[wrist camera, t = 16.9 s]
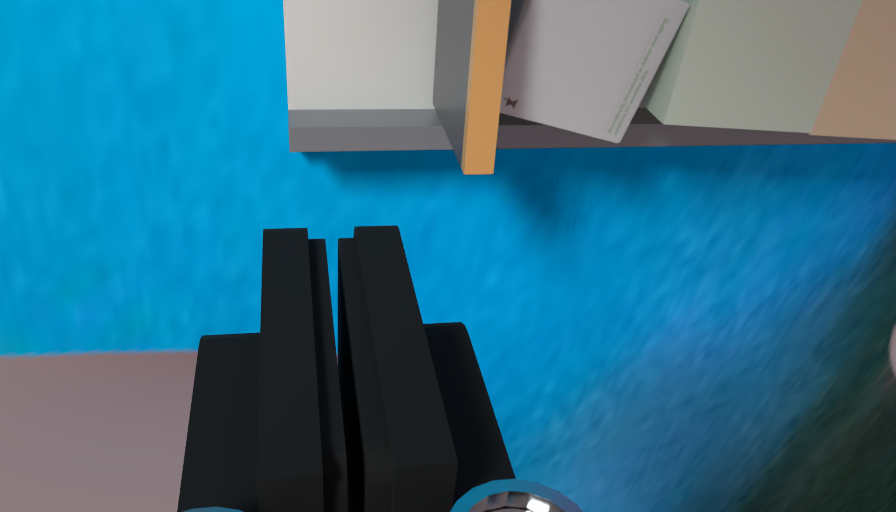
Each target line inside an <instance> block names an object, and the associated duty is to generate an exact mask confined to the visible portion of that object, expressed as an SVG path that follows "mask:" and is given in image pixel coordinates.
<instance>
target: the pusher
mask: <svg viewBox="0 0 896 512" xmlns="http://www.w3.org/2000/svg"><path fill="white" fill-rule="evenodd" d="M510 8H511V0H438V16H437V34H436V52H435V70H434V87H433V105H434V108H435V110H436V112H437V115H438V117H439V119H440V121H441V124H442V126H443V128H444V130H445V133H446V135H447V137H448V139H449V142H450V144H451V146H452V148H453V151H454V153H455V155H456V157H457V160H458V162H459V164H460V167H461V169H462V171H463V173H464V174H493V171H494V162H495V152H496V142H497V133H498V123H499V114H500V104H501V95H502V85H503V75H504V66H505V56H506V47H507V37H508V28H509V18H510Z"/></svg>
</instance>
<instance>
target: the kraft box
mask: <svg viewBox="0 0 896 512" xmlns="http://www.w3.org/2000/svg"><path fill="white" fill-rule="evenodd" d="M808 134H809V135H820V136H837V137H854V138H871V139H888V140H896V0H863V2H862V4H861V7H860V9H859V12H858V14H857V17H856V19H855V22H854V24H853V27H852V29H851V32H850V35H849V37H848V40H847V42H846V45H845V47H844V50H843V52H842V55H841V57H840V60H839V62H838V65H837V68H836V70H835V73H834V75H833V78H832V80H831V83H830V85H829V88H828V90H827V93H826V95H825V98H824V101H823V103H822V106H821V108H820V111H819V113H818V116H817V118H816V121H815V123H814V126H813V128H812V131H811V133H808Z"/></svg>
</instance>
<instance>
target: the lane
mask: <svg viewBox="0 0 896 512" xmlns="http://www.w3.org/2000/svg"><path fill="white" fill-rule="evenodd" d="M283 6H284V27H285V48H286V69H287V90H288V114H289V144H290V152H320V151H386V150H452V149H453V148H452V146H451V144H450V142H449V139H448V137H447V135H446V133H445V130H444V128H443V126H442V124H441V121H440V119H439V117H438V115H437V112H436V110H435V108H434V105H433V87H434V70H435V52H436V34H437V16H438V0H283ZM846 143H896V140H888V139H871V138H854V137H837V136H820V135H809V134H808V133H800V132H783V131H766V130H750V129H733V128H716V127H699V126H682V125H665V124H663V123H662V122H660V121H659V120H658V119H657V118H656V117H655V116H654V115H653V114H652V113H651V112H650V111H649V110H648V109H647V108H645V107H644V106H643V105H642V104H641V103H640V105H639V107H638V109H637V111H636V113H635V115H634V116H633V118H632V120H631V122H630V124H629V126H628V128H627V130H626V132H625V134H624V136H623V138H622V140H621V142H619V143H613V142H610V141H606V140H603V139H598V138H594V137H590V136H587V135H583V134H579V133H575V132H571V131H568V130H564V129H560V128H556V127H552V126H549V125H545V124H541V123H537V122H533V121H529V120H526V119H522V118H518V117H514V116H510V115H506V114H503V113H500V114H499V123H498V133H497V142H496V149H517V148H583V147H649V146H714V145H780V144H846Z"/></svg>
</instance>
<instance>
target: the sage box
mask: <svg viewBox="0 0 896 512" xmlns="http://www.w3.org/2000/svg"><path fill="white" fill-rule="evenodd" d="M686 1H687V2H688V3H689V4H690V7H689V9H688V10H687V12H686V14H685V16H684V18H683V20H682V22H681V24H680V26H679V28H678V30H677V32H676V34H675V36H674V38H673V40H672V42H671V44H670V46H669V48H668V50H667V52H666V54H665V55H664V58H663V60H662V62H661V63H660V65H659V67H658V69H657V71H656V73H655V75H654V77H653V79H652V81H651V83H650V85H649V87H648V89H647V91H646V93H645V95H644V97H643V99H642V101H641V104H642V105H643V106H644V107H645V108H647V109H648V110H649V111H650V112H651V113H652V114H653V115H654V116H655V117H656V118H657V119H658V120H659V121H660V122H662V123H663V124H665V125H682V126H699V127H716V128H733V129H750V130H766V131H783V132H800V133H811V131H812V128H813V126H814V123H815V121H816V118H817V116H818V113H819V111H820V108H821V106H822V103H823V101H824V98H825V95H826V93H827V90H828V88H829V85H830V83H831V80H832V78H833V75H834V73H835V70H836V68H837V65H838V62H839V60H840V57H841V55H842V52H843V50H844V47H845V45H846V42H847V40H848V37H849V35H850V32H851V29H852V27H853V24H854V22H855V19H856V17H857V14H858V12H859V9H860V7H861V4H862V2H863V0H686Z"/></svg>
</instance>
